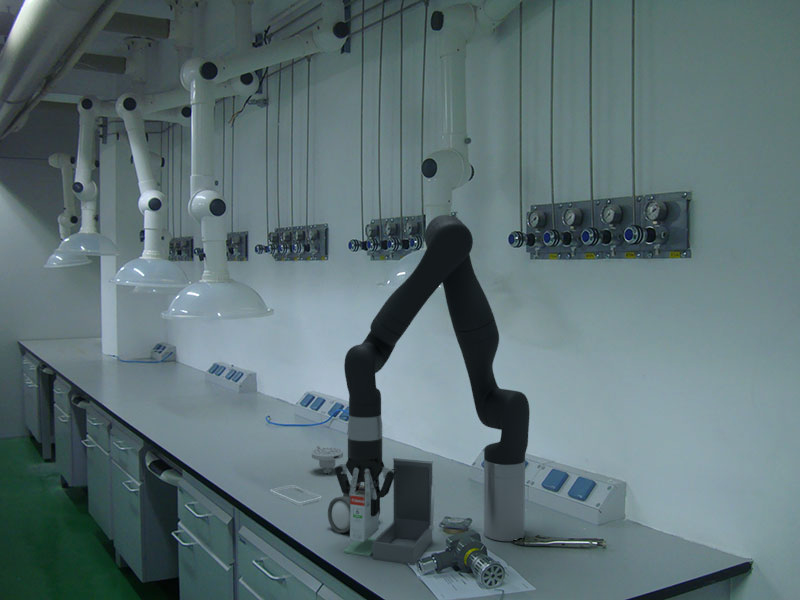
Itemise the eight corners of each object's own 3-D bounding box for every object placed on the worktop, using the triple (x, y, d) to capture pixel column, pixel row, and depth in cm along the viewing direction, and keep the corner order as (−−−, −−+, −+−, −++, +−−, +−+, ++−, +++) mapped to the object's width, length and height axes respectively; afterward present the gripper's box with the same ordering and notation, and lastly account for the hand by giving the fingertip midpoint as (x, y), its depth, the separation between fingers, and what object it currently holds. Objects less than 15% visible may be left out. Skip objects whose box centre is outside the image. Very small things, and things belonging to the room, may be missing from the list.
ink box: (349, 540, 144) (349, 472, 144) (364, 528, 152) (364, 463, 152) (364, 543, 143) (365, 474, 143) (379, 530, 151) (379, 465, 150)
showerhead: (329, 443, 213) (349, 449, 205) (330, 466, 213) (349, 472, 205) (304, 448, 206) (323, 454, 199) (304, 471, 207) (323, 478, 199)
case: (393, 535, 154) (393, 457, 154) (435, 541, 151) (435, 460, 151) (372, 558, 142) (372, 473, 141) (417, 565, 138) (417, 477, 138)
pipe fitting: (349, 536, 153) (350, 489, 154) (325, 530, 158) (326, 485, 159) (386, 528, 162) (386, 484, 163) (362, 523, 167) (363, 480, 168)
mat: (359, 537, 153) (359, 535, 153) (384, 540, 151) (384, 539, 151) (343, 552, 145) (343, 550, 145) (370, 556, 143) (370, 554, 143)
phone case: (269, 494, 186) (299, 508, 175) (269, 489, 186) (299, 502, 175) (291, 489, 191) (322, 501, 180) (291, 484, 191) (322, 496, 180)
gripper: (401, 434, 148) (401, 512, 149) (341, 429, 153) (341, 505, 153) (390, 441, 141) (390, 523, 142) (327, 436, 146) (327, 516, 146)
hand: (364, 513), depth 148 cm, fingers closed on ink box, 3 cm apart
